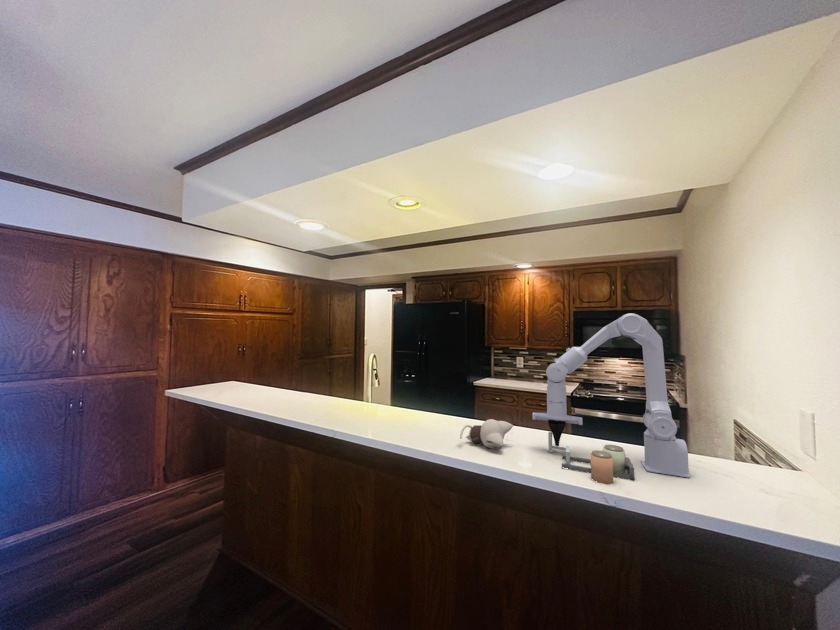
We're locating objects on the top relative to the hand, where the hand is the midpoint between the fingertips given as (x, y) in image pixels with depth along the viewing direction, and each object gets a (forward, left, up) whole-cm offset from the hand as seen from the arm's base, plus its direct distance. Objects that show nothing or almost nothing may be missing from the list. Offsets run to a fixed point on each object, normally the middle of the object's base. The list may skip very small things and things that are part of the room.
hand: (557, 445), depth 102 cm
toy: (+21, +5, -3) cm, 22 cm away
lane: (-10, +9, -2) cm, 13 cm away
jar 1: (-11, +16, -2) cm, 20 cm away
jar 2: (-15, +9, -2) cm, 17 cm away
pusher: (-1, +5, -2) cm, 6 cm away
